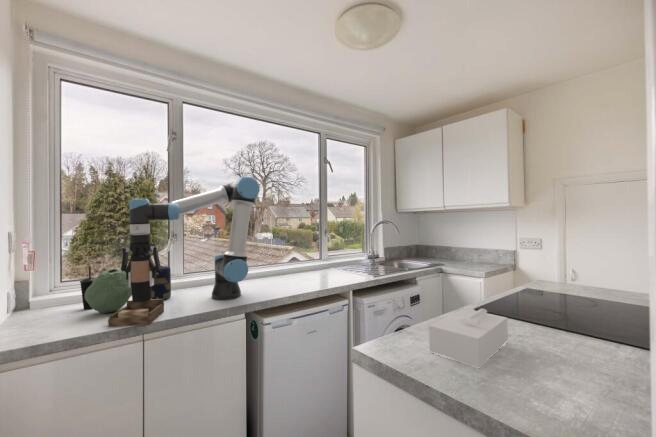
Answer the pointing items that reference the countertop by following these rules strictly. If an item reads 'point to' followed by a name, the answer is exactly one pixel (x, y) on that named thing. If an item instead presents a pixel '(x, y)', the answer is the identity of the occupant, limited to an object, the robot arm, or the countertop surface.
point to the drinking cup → (84, 285)
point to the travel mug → (140, 278)
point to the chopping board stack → (133, 313)
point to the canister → (162, 283)
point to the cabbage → (109, 291)
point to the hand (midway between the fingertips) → (141, 286)
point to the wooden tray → (154, 311)
